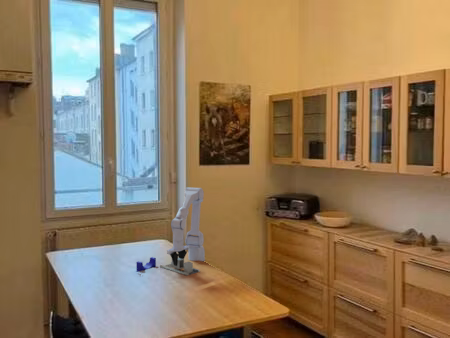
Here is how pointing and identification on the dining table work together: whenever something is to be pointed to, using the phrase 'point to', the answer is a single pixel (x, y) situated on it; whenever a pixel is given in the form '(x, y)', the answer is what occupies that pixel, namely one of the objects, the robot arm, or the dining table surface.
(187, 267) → the small hollow grey box
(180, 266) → the pale grey block
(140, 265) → the cable clip
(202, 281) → the dining table surface
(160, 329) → the dining table surface
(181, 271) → the rail
